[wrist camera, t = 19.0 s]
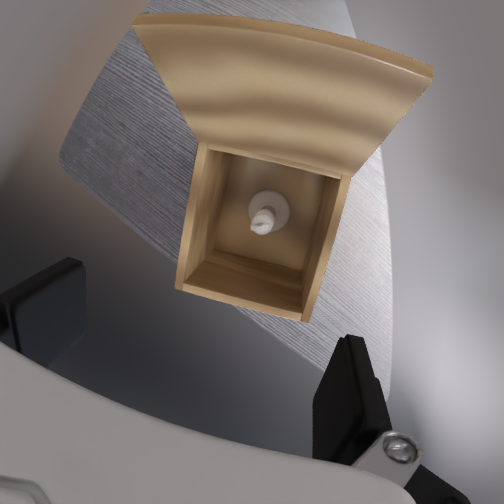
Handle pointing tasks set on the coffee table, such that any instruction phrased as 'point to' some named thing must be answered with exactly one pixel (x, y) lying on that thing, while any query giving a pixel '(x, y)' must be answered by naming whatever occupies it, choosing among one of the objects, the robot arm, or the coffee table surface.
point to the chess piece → (268, 212)
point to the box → (252, 244)
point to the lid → (282, 86)
